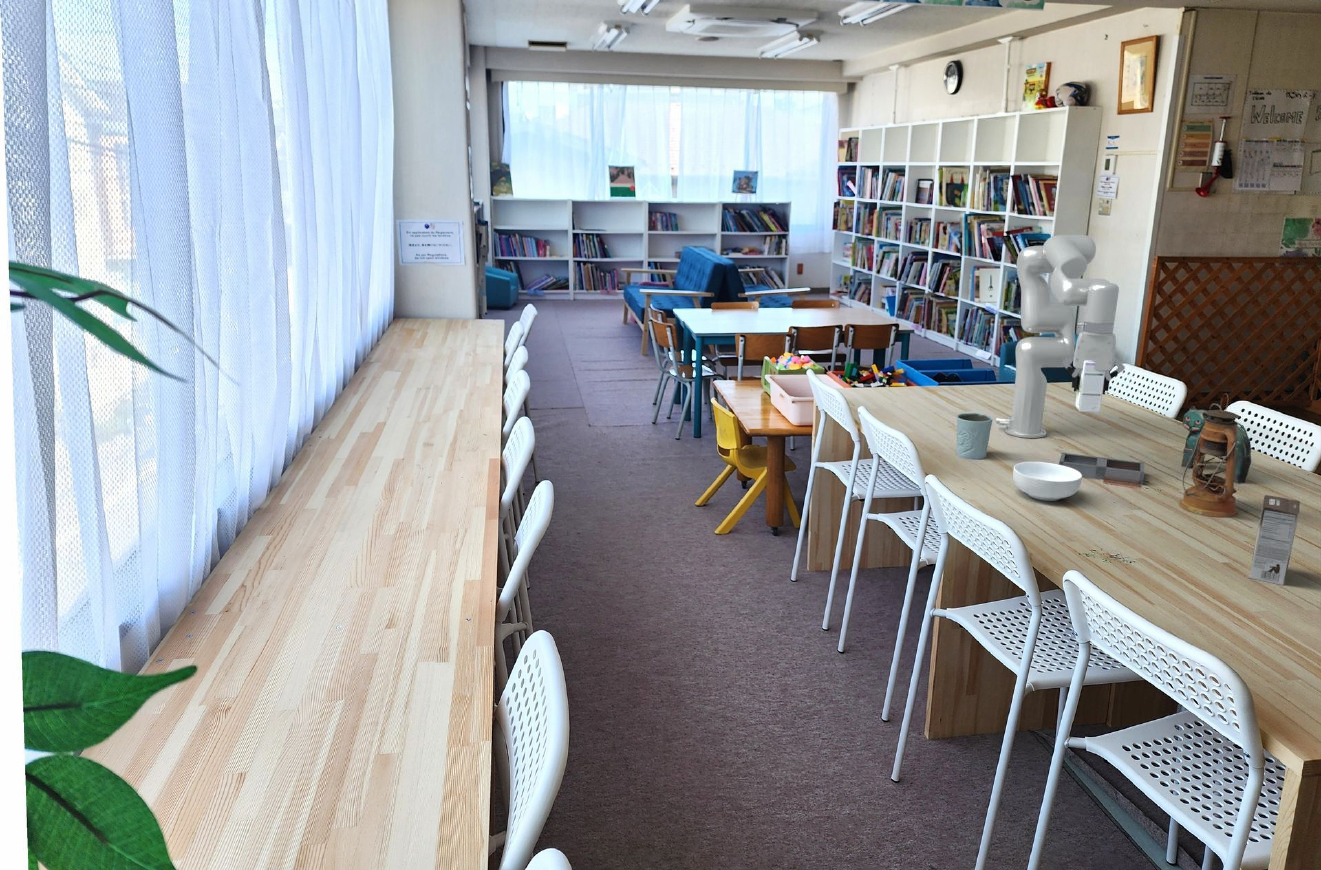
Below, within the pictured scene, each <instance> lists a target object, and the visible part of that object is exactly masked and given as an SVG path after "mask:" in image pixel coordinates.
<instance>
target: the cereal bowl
mask: <svg viewBox="0 0 1321 870" xmlns="http://www.w3.org/2000/svg"><path fill="white" fill-rule="evenodd" d="M1082 478H1083V477H1082V475H1081V473H1080V472H1078V471H1077V470H1075V469H1072V468H1069V467H1066V466H1062V465H1059V463H1058V464H1057V463H1052V462H1051V463H1050V462H1045V461H1044V462H1043V461H1022V462H1019V463H1016V464H1014V466H1013V471H1012V479H1013V482H1014V484H1015V485H1016V487H1017V488H1018V489H1019V490H1021V491H1022V492H1024V493H1025V494H1027V495H1028V497H1030V498H1033V499H1036V500H1040V501H1045V502H1047V501H1050V502H1051V501H1052V502H1053V501H1054V502H1055V501H1058V500H1060V499H1065V498H1068V497H1070V496H1073V495H1074V494H1076V493H1077V492H1078V491H1079V489H1080V486H1081V484H1082Z"/></svg>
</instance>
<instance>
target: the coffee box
mask: <svg viewBox="0 0 1321 870" xmlns="http://www.w3.org/2000/svg"><path fill="white" fill-rule="evenodd" d="M1300 505H1301V504H1300V500H1295V499H1290V498H1285V497H1281V496H1275V495H1274V496H1273V495H1269V494H1265V495H1264V499H1263V503H1262V507H1261V512H1260V517H1259V522H1258V525H1257V527H1258V528H1257V532H1256V537H1255V543H1254V548H1253V553H1252V554H1253V555H1252V559H1251V561H1252V562H1251V568H1250V574H1249V578H1250V579H1252V580H1258V581H1260V582H1261V581H1262V582H1267V583H1271V584H1276V585H1281V586H1284V585H1285V582H1286V577H1287V573H1288V568H1289V564H1290V559H1291V553H1292V549H1293V543H1294V540H1295V535H1296V530H1297V525H1298V521H1299V515H1300Z"/></svg>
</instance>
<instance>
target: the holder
mask: <svg viewBox="0 0 1321 870" xmlns="http://www.w3.org/2000/svg"><path fill="white" fill-rule="evenodd" d="M1058 465H1062V466H1066V467H1069V468H1072V469H1075V470H1077V471H1078V472H1080V473H1081V475H1082V478H1083V479H1084V478H1087V479H1094V480H1099V479H1102V480H1101V481H1103V482H1102V484H1104V483H1107V484H1106V485H1111V484H1112V486H1113V485H1114V486H1121V487H1128V488H1135V489H1140V488H1141V486H1144V478H1145V472H1146V471H1145V462H1140V461H1131V460H1125V459H1117V458H1109V457H1100V456H1093V455H1085V454H1077V453H1068V452H1061V455H1060V459H1059V463H1058Z"/></svg>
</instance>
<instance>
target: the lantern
mask: <svg viewBox="0 0 1321 870" xmlns="http://www.w3.org/2000/svg"><path fill="white" fill-rule="evenodd" d="M1225 395H1226V397H1227V399H1229V394H1228V393H1223V395H1222V397H1221V401H1220V408H1219V409H1209V410H1210V411H1209V410H1206V412H1205V413H1206V414H1207V415H1208V419H1206V420H1205V425H1204V427H1203V429H1202V431H1201V433H1200V435H1199V437H1198V440H1197V442H1196V446H1195V449H1194V451H1193V454H1192V456H1191V458H1190V460H1189V462H1188V464H1187V466H1186V467H1185V469H1184V471H1183V475H1182V488H1183V491H1184V492H1183V498H1182V499H1180V501H1179V503H1178V506H1179V507H1180V508H1181V509H1183V510H1185V511H1186V512H1190V513H1193V514H1196V515H1200V516H1206V517H1213V518H1215V517H1216V518H1231V517H1235V516H1237V515H1238V511H1237V508H1236V507H1235V505H1236V497H1235V496H1234V495H1233V494H1236V493H1237V491H1238V490H1237V489H1236V488H1234V486H1235V482H1234V475H1235V466H1236V464H1235V458H1236V442H1237V441H1238V439H1237V438H1236V434H1237V429H1236V428H1237V425H1238V424H1237V422H1238V421H1236V419H1239V418H1240V415H1238V414H1237V413H1235V412H1231V411H1227V409H1228V405H1229V400H1226V401H1227V402H1226V406H1225V410H1223V409H1221V408H1222V404H1223V399H1224V396H1225ZM1235 421H1236V422H1235ZM1197 446H1198V451H1197V455H1196V456H1195V458H1194V459H1193V464H1194V465H1193V466H1194V467H1193V468H1191V469H1192V474H1191V476H1192V481H1193V484H1194V486H1191V487H1188V488H1185V476H1186V473H1187V470H1188V469H1189V468H1188V466H1189V464H1190V462H1191V460H1192V458H1193V457H1194V454H1195V451H1196V449H1197ZM1206 455H1208V456H1212V457H1211V458H1210V459H1208V460H1205V457H1206ZM1216 458H1218V459H1219V460H1221V461H1219V460H1218V461H1215V459H1216ZM1212 460H1214V461H1212ZM1194 461H1195V462H1194ZM1216 464H1218V465H1217V467H1216V468H1215V470H1214V472H1210V473H1204V469H1205V470H1206V469H1207V465H1216ZM1222 464H1225V469H1224V470H1220V471H1218V469H1219V467H1220V466H1221V465H1222ZM1224 472H1225V478H1224V477H1221V476H1218V474H1221V473H1224Z"/></svg>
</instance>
